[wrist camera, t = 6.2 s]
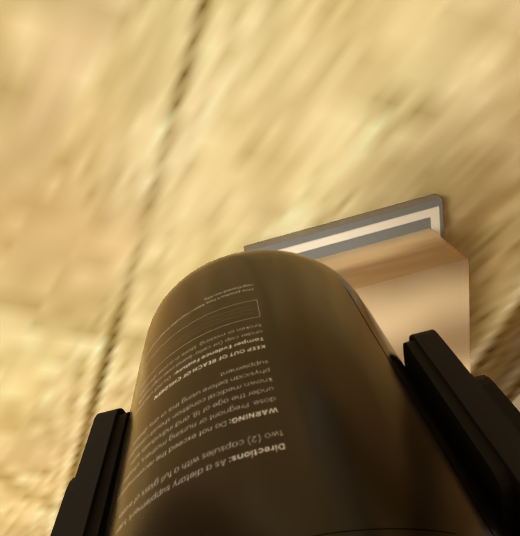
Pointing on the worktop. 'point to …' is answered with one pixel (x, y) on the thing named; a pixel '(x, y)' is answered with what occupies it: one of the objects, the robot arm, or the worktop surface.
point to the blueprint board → (361, 229)
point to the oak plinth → (412, 288)
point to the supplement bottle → (284, 417)
